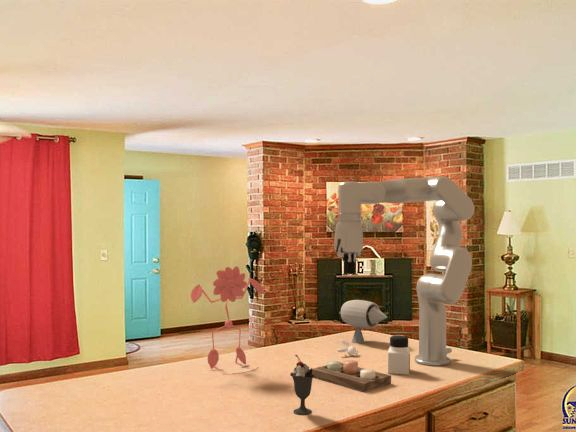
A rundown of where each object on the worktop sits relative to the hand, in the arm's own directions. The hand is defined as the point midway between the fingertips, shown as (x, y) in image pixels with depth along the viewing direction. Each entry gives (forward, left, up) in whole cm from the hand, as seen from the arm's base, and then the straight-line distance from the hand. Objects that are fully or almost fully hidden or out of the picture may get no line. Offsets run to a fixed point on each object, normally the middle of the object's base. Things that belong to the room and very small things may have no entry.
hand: (349, 273), depth 192 cm
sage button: (+6, -1, -32) cm, 33 cm away
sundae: (+38, +17, -33) cm, 53 cm away
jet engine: (-39, -27, -33) cm, 58 cm away
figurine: (+26, -31, -33) cm, 52 cm away
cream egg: (+6, +13, -32) cm, 35 cm away
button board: (+6, +6, -33) cm, 34 cm away
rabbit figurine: (-18, -17, -33) cm, 41 cm away
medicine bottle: (-14, +10, -33) cm, 37 cm away
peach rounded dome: (+6, +6, -31) cm, 32 cm away
